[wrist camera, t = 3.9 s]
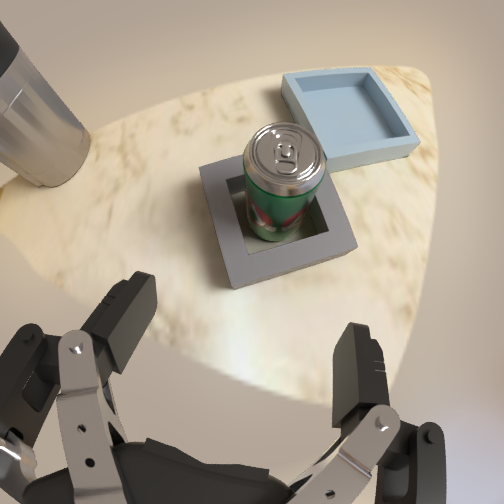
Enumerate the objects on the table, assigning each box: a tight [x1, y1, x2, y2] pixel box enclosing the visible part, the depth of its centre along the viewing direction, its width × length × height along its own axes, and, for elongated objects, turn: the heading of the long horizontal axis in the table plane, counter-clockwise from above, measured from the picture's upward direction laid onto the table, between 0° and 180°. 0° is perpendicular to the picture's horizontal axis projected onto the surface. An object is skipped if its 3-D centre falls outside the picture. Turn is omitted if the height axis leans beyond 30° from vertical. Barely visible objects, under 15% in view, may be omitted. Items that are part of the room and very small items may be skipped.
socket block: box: [199, 155, 358, 289], centre depth 25 cm, size 11×11×4 cm
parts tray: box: [281, 67, 420, 173], centre depth 27 cm, size 12×12×4 cm
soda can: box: [243, 122, 326, 241], centre depth 21 cm, size 5×5×12 cm
